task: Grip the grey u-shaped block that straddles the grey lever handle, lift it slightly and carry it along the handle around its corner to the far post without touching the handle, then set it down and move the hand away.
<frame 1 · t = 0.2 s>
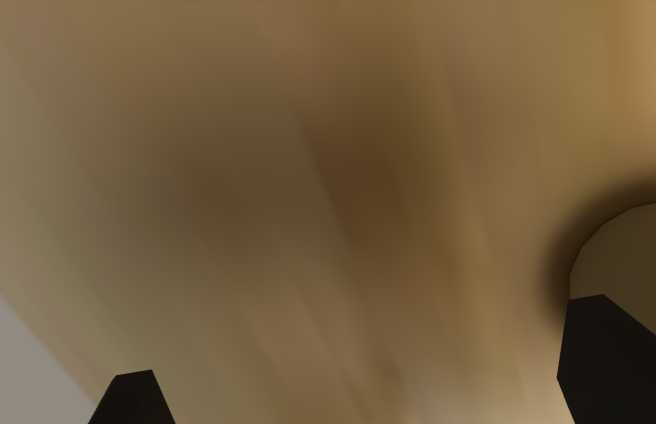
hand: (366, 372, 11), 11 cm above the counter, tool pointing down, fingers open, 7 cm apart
squeeze bottle: (637, 266, 23), on the counter
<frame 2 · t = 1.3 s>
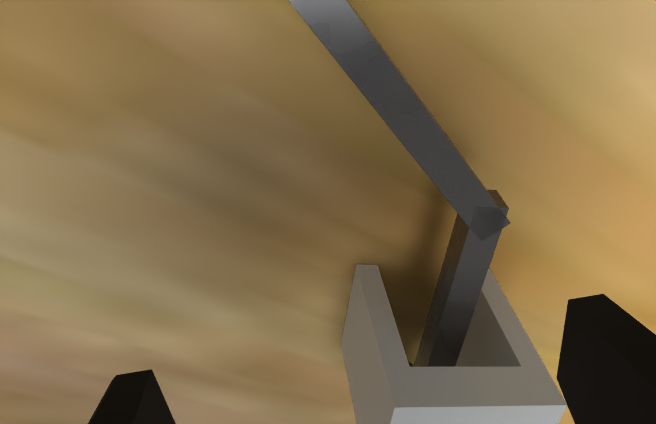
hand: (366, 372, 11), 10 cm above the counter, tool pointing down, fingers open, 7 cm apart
grey lever handle: (451, 164, 20), on the counter
grey u-shaped block: (413, 306, 24), on the counter
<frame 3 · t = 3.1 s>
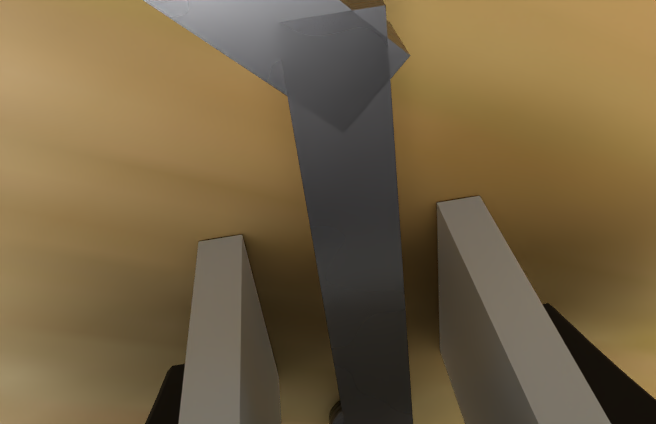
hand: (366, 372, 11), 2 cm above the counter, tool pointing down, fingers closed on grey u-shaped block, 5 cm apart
grey u-shaped block: (350, 298, 12), on the counter, touching gripper
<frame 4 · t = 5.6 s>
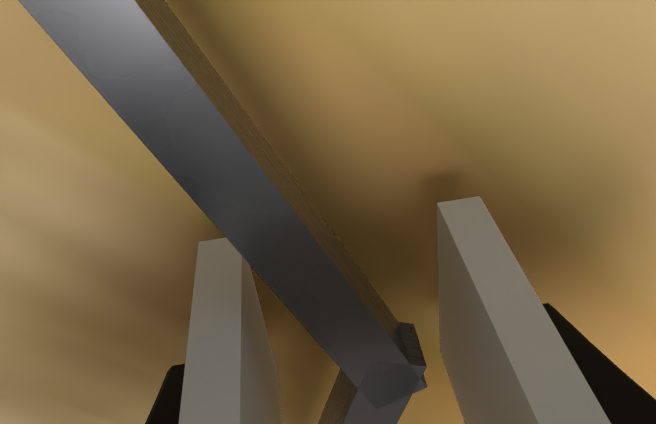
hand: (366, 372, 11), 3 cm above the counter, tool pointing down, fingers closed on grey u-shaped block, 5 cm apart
grey lever handle: (358, 255, 13), on the counter
grey u-shaped block: (350, 298, 12), point 1 cm above the counter, touching gripper
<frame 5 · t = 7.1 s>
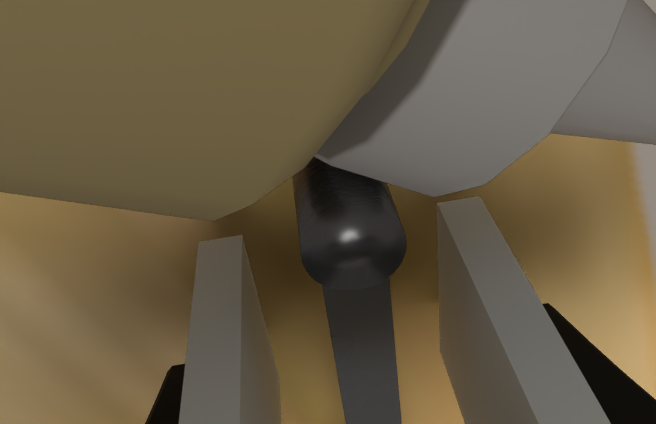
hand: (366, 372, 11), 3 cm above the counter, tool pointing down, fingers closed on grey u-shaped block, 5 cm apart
grey u-shaped block: (350, 298, 12), point 1 cm above the counter, touching gripper
when the fingers open (2 cm above the counter, at t = 8.3 s): grey u-shaped block stays where it is, on the counter.
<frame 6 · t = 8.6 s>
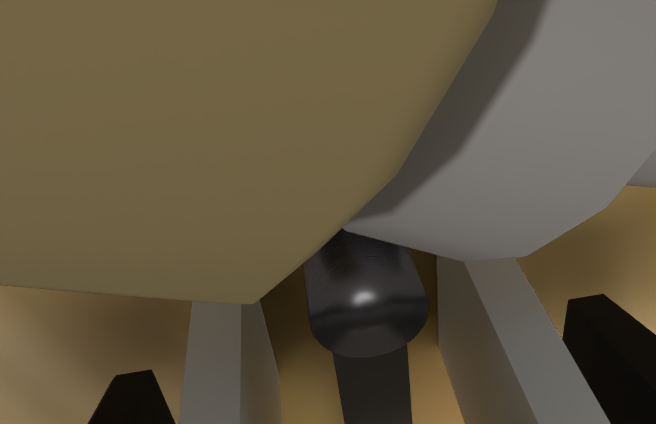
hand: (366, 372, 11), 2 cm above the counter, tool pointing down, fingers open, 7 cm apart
grey u-shaped block: (350, 295, 12), on the counter
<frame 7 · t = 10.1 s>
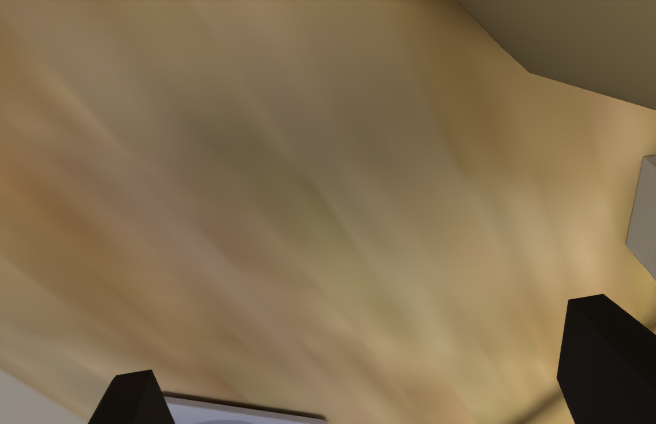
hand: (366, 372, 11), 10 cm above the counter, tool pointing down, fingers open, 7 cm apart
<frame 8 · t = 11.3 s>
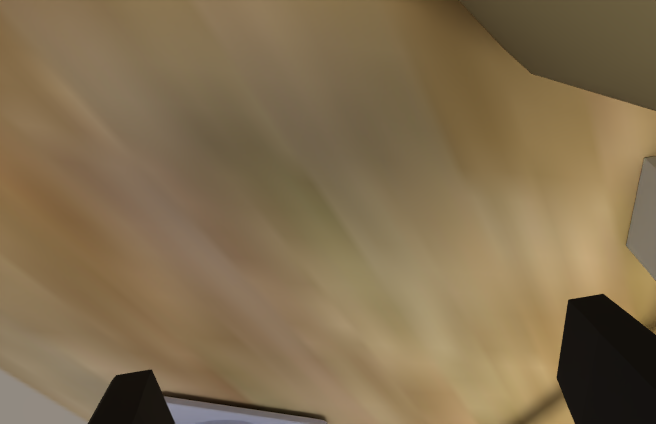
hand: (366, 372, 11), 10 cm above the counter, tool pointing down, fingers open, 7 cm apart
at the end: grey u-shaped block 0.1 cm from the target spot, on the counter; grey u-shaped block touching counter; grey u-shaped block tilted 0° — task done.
